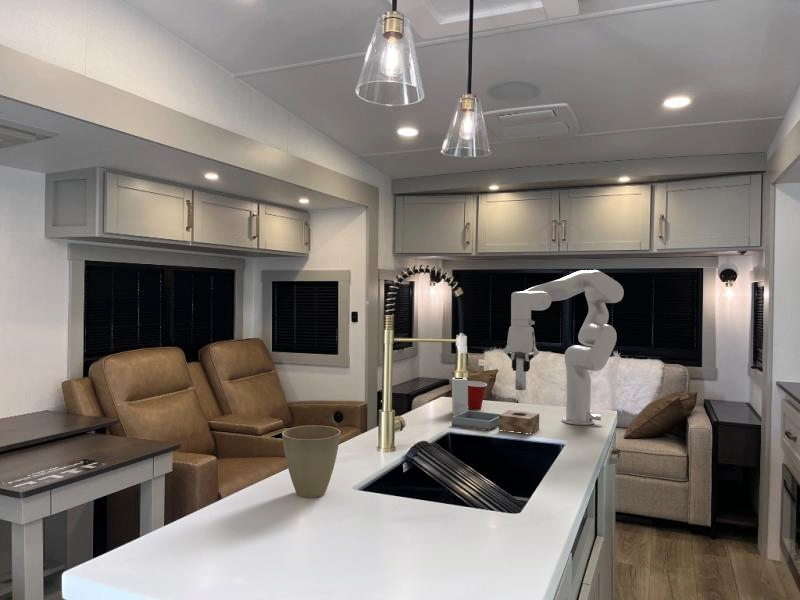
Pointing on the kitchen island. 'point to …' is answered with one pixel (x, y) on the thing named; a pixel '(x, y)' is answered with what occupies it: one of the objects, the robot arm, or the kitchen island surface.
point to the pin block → (519, 421)
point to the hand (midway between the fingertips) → (520, 370)
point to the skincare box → (459, 395)
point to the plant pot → (311, 457)
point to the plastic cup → (475, 394)
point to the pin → (520, 371)
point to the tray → (476, 420)
